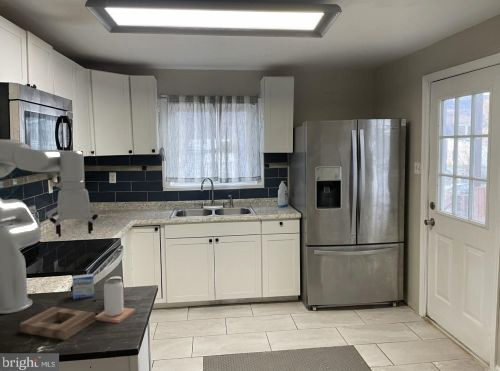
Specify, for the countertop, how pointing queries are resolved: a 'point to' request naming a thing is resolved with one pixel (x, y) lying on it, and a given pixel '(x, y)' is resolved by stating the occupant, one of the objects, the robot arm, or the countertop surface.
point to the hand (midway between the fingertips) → (74, 234)
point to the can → (113, 297)
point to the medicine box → (83, 286)
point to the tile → (115, 319)
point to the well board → (44, 325)
